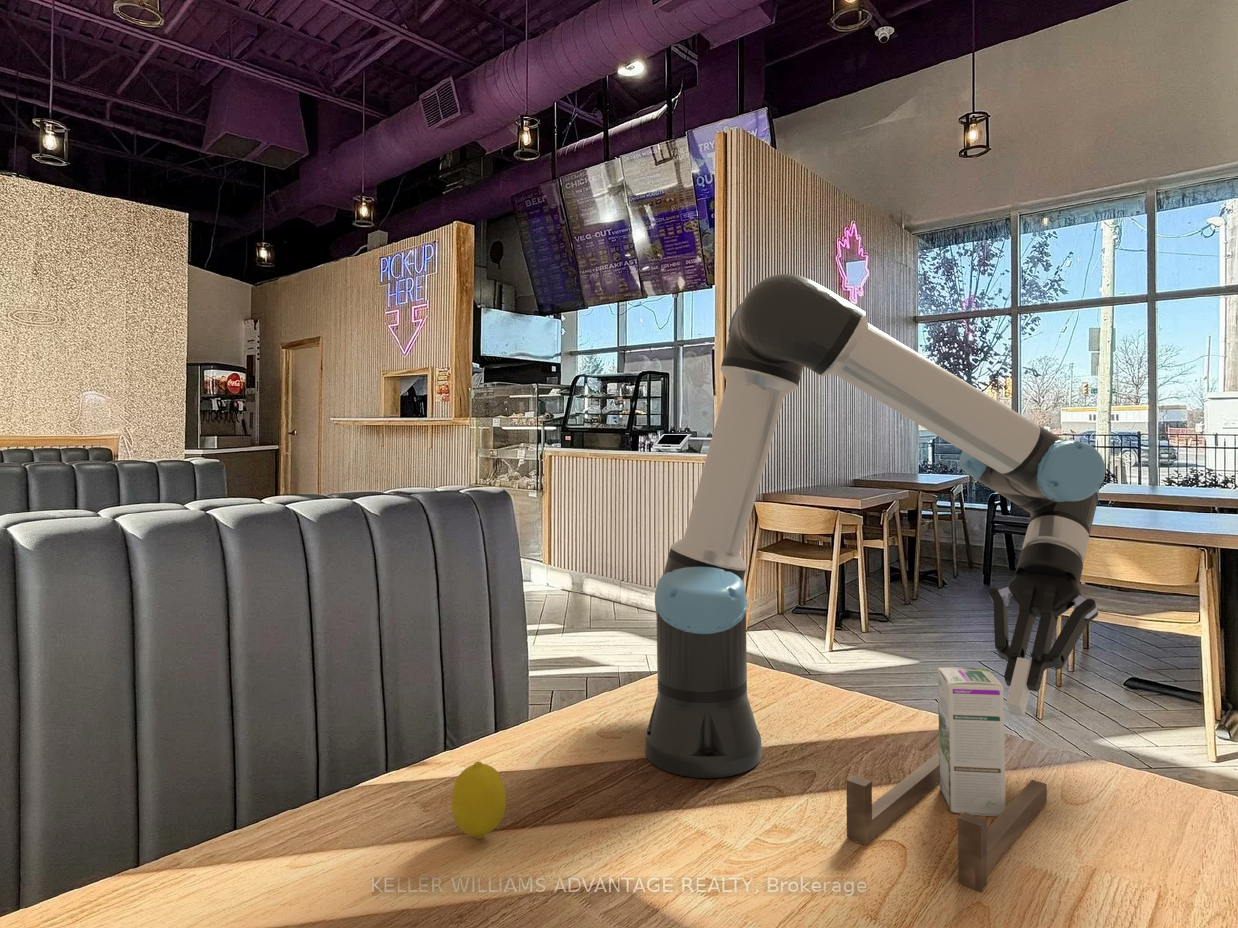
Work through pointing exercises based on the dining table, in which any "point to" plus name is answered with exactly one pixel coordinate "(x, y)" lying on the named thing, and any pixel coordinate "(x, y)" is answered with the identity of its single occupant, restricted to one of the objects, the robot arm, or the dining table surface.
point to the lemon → (478, 800)
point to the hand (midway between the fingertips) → (1015, 709)
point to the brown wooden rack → (974, 839)
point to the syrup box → (971, 741)
